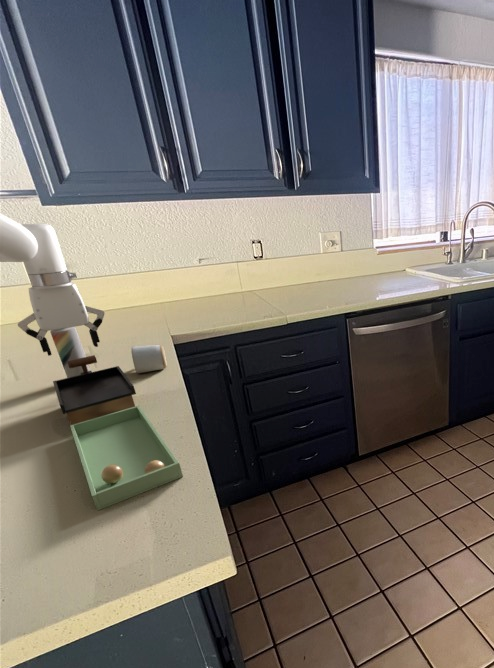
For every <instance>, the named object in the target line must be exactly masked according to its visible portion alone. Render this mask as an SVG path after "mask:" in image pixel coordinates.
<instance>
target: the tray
mask: <svg viewBox="0 0 494 668" xmlns="http://www.w3.org/2000/svg"><path fill="white" fill-rule="evenodd" d="M69 427H70V430H71V433H72V438H73V440H74V443H75V447H76V449H77V453H78V456H79V460H80V463H81V467H82V469H83V472H84V476H85V479H86V482H87V485H88V488H89V491H90V495H91V497H92V500H93V503H94V506H95V508H96V510H97V511H100V510H102V509H105V508H108V507H110V506H113V505H115V504H118V503H121V502H122V501H126V500H128V499H130V498H134V497H136V496H138V495H141V494H143V493H145V492H148V491H151V490H153V489H155V488H158V487H161V486H163V485H166V484H168V483H171V482H173V481H175V480H178V479H181V478H183V477H184V475H183V471H182V468H181V464H180V462H179V460H178V459H177V458H176V456H175V454H174V453H173V452H172V450H171V448H170V447H169V446H168V445H167V443H166V442H165V440H164V439H163V438H162V436H161V435H160V433H159V432H158V430H157V429H156V427H155V426H154V425H153V423H152V422H151V420H150V419H149V417H148V416H147V415H146V413H145V412H144V410H143V409H142V407H141V406H140V405H135V407H132V408H129V409H125V410H122V411H118V412H115V413H111V414H108V415H104V416H101V417H97V418H94V419H91V420H87V421H84V422H80V423H77V424H73V425H71V424H70V425H69ZM154 460H158V461H161V462H162V463H163V464H164V465H165V467H163V468H160V469H158V470H155V471H152V472H150V473H147V474H145V467H146V465H147V464H148V463H149V462H151V461H154ZM109 465H117V466H119V467H121V469H122V470H123V476H122V478H121V479H120V480H119V481H118V482H116V483H112V484H109V483H106V482H104V481H103V480H102V477H101V473H102V471H103V469H104V468H105V467H107V466H109Z"/></svg>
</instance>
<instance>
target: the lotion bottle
mask: <svg viewBox="0 0 494 668" xmlns="http://www.w3.org/2000/svg"><path fill="white" fill-rule="evenodd" d="M50 335H51V339H52V341H53V344H54V346H55V348H56V351H57V354H58V357H59V359H60V363H61V365H62V368H63V371H64V372H65V376H66V378H69V377H74V376H78V375H81V374H80V373H82V372H83V370H82V367H81V366H80V367H75V368H71V369H69V366H68V363H67V361H69V360H74V359H79V358H83V357H87V356H86V353H85V350H84V348H83V344H82V341H81V338H80V335H79V333H78V330H77V328H76V327H70V328H63V329H57V330H50ZM86 367H87V369H88V371H92V370H91V367H90V364H89V365H86Z"/></svg>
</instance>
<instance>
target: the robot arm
mask: <svg viewBox="0 0 494 668" xmlns="http://www.w3.org/2000/svg"><path fill="white" fill-rule="evenodd" d="M64 258H65V257H64V256H63V252H62V248H61V245H60V243H59V240H58V236H57V233H56V230H55V228H54V227H53V226H52V225H50V224H49V223H24V224H23V223H22V224H21V223H19V222H18V221H15V220H14V219H12V218H10V217H9V216H7V215H5V214H2V213H1V212H0V263H23V266H24V268H25V271H26V273H27V276H28V279H29V282H30V285H31V287H28V296H29V301H30V304H31V305H30V306H31V308H32V311H33V312H32V313H31V314H29V315H28V316H27V317H25V318H22V320H20V321H18V322H17V327H18V328H19V329H21V330H22V331H23V332H24V333H25V334H26V335H28V336H30V337H32V338H34V339H36V340H38V341H39V344H40V347H41V350H42V352H43V353H46V354H47V356H49V357H50V356H52V355H53V354H52V351H51V348H50V346H49V342H48V340H47V337H45V336H46V335H47V333H48V332H49V331H51V330H57V329H63V328H70V327H75V328H76V327H80V326H85V327H87V328H88V329H89V330H88V333H89V335H90V339H91V341H92V342H91V343H92V345H93V346H94V347H95V348H98V347H99V344H98V343H101V340H100V337H99V335H98V329H99V327H100V326H101V325H102V324H103V320H104V316H105V311H104V310H102V309H100V308H99V309H98V308H95V307H92V306H87V305H85V303H84V300H83V297H82V295H81V293H80V290H79V289H78V287H77V284H76V283H75V282H72V280H74V279H77V278H78V277H77V273H76V272H71V271H68V268H67V264H66V262H65V259H64ZM88 313H90V314H93V315H96V317H95V320H94V321H93V322H91V321H90V318H89V317H90V316H89V314H88ZM34 321H36V324H37V325H38V327H39V329H38V330H37V331H36V330H34V329H32V328H31V327H29V325H30V324H31V323H33V322H34Z"/></svg>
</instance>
